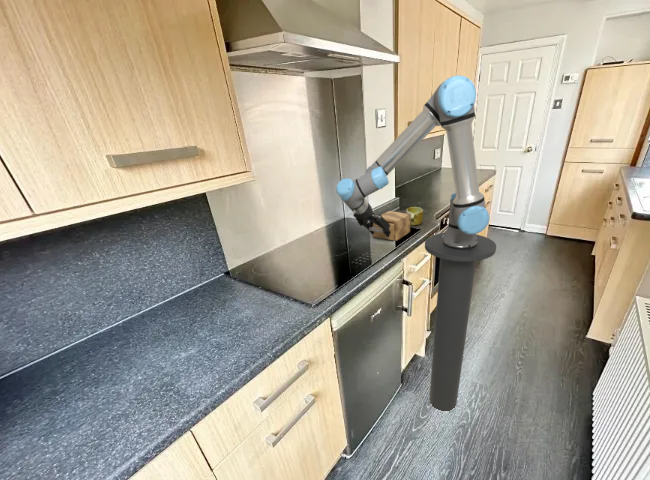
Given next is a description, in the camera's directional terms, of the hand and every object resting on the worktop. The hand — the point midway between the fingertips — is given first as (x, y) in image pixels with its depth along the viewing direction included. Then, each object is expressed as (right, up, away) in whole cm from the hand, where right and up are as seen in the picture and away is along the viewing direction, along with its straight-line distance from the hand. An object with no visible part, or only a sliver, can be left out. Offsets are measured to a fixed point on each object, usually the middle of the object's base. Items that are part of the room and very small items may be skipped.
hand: (381, 233), depth 152 cm
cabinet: (+6, +1, +10) cm, 12 cm away
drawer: (+3, -1, +5) cm, 6 cm away
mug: (+19, +9, +23) cm, 31 cm away
